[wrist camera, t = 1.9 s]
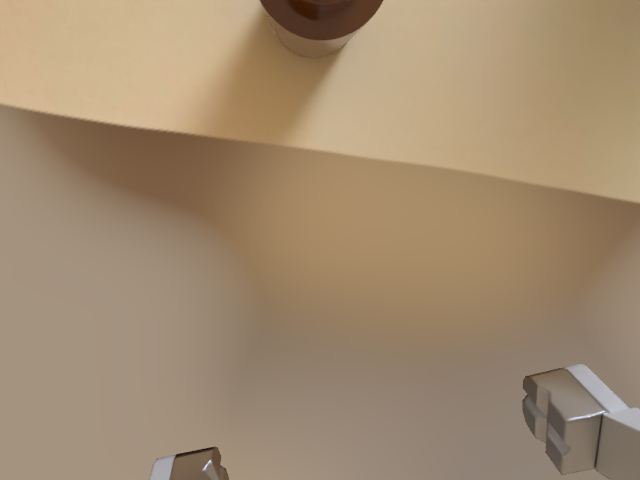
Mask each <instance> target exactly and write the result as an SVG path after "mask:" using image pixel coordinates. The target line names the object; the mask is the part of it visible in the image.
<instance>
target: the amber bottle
mask: <svg viewBox="0 0 640 480" xmlns="http://www.w3.org/2000/svg"><path fill="white" fill-rule="evenodd" d="M260 2H261V4H262V6H263V8H264V11H265V13H266V15H267V17H268V19H269V21H270V23H271V25H272V27H273V29H274V31H275V33H276V35H277V37H278V38H279V40H280V41H281V42H282V43H283V44H284V46H285V47H287V48H288V49H289V50H290V51H292V52H293V53H295V54H297V55H299V56H302V57H306V58H322V57H326V56H328V55H331V54H333V53H334V52H336V51H338V50H339V49H340V48H341V47H342V46H343V45H344V44H345V43H346V42H347V41H348V40H349V39H350V38H352V37H353V36H354V35H355V34H356V33H357V32H358V31H359V30H360V29H361V28H362V27H363V26H364V25H365V24H366V23H367V22H368V21H369V20H370V19H371V18H372V16H373V15H374V14H375V13H376V11H377V10H378V9H379V7H380V6H381V4H382V2H383V0H260Z"/></svg>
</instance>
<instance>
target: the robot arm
mask: <svg viewBox="0 0 640 480" xmlns="http://www.w3.org/2000/svg"><path fill="white" fill-rule="evenodd" d="M523 389H524V390H525V391H526V393H527V396H526V397H525V398H524V399H523V413H524V417H525V421H526V423H527V425H528V427H529V429H530V431H531V432H532V434H533V435H534V436H535V438H537V439H539V440H541V441H542V442H544V443H546V454H547V455H548V456H549V458H550V459H551V461H552V462H553V463H554V465H555V466H556V468H557V469H558V470H559V472H560V473H561V475H565V474H570V473H575V472H580V471H585V470H590V469H594V468H596V471H598V472H599V473H601V474H602V475H604V476H605V477H607V478H608V479H610V480H640V409H639V408H636V407H634V408H629V407H628V406H627V405H626V404H625V403H624V402H623V401H622V400H621V399H620V398H619V397H618V396H617V395H616V394H615V393H614V392H612V391H611V390H610V389H609V388H608V387H607V386H606V385H605V384H604V383H603V382H602V381H601V380H600V379H599V378H598V377H597V376H596V375H595V374H594V373H593V372H592V371H591V370H590V369H589V368H588V367H587V366H585V365H583V364H577V365H572V366H568V367H564V368H559V369H555V370H550V371H547V372H542V373H538V374H534V375H529V376H526V377H525V378H524V380H523ZM220 462H221V455H220V452H219V450H218V448H217V447H211V448H206V449H201V450H196V451H191V452H185V453H180V454H177V455H172V456H168V457H162V458H157V459H156V461H155V463H154V464H153V467H152V470H151V474H150V478H149V480H229V477H228V474H227V471H226V468H224V467H222V466H221V465H220Z"/></svg>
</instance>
